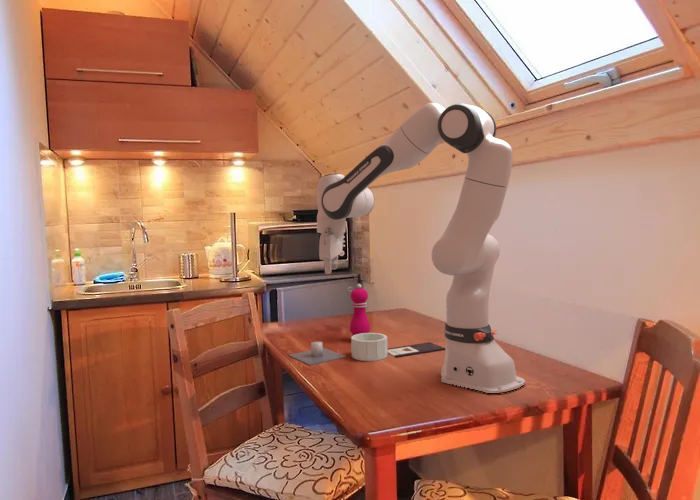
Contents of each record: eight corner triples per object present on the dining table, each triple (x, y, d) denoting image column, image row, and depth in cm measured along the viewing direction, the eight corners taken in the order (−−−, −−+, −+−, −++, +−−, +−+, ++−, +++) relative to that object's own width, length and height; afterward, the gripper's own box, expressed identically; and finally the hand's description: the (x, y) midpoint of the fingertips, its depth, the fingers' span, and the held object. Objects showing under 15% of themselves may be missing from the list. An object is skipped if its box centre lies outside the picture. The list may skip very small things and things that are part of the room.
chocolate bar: (445, 348, 169) (396, 356, 161) (445, 351, 169) (396, 359, 161) (429, 342, 177) (382, 349, 169) (429, 344, 177) (382, 352, 169)
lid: (346, 359, 163) (345, 343, 162) (310, 367, 155) (309, 351, 155) (323, 350, 173) (323, 335, 173) (288, 357, 166) (288, 342, 165)
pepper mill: (362, 344, 178) (361, 285, 176) (345, 341, 182) (344, 284, 180) (374, 339, 183) (373, 283, 182) (358, 337, 188) (356, 281, 186)
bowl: (394, 356, 162) (394, 337, 162) (366, 363, 156) (365, 343, 156) (372, 349, 171) (372, 331, 171) (345, 355, 165) (344, 336, 164)
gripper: (335, 229, 151) (335, 276, 153) (346, 225, 171) (346, 267, 173) (313, 228, 152) (313, 276, 154) (327, 225, 172) (327, 266, 174)
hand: (331, 271), depth 163 cm, fingers open, 8 cm apart
